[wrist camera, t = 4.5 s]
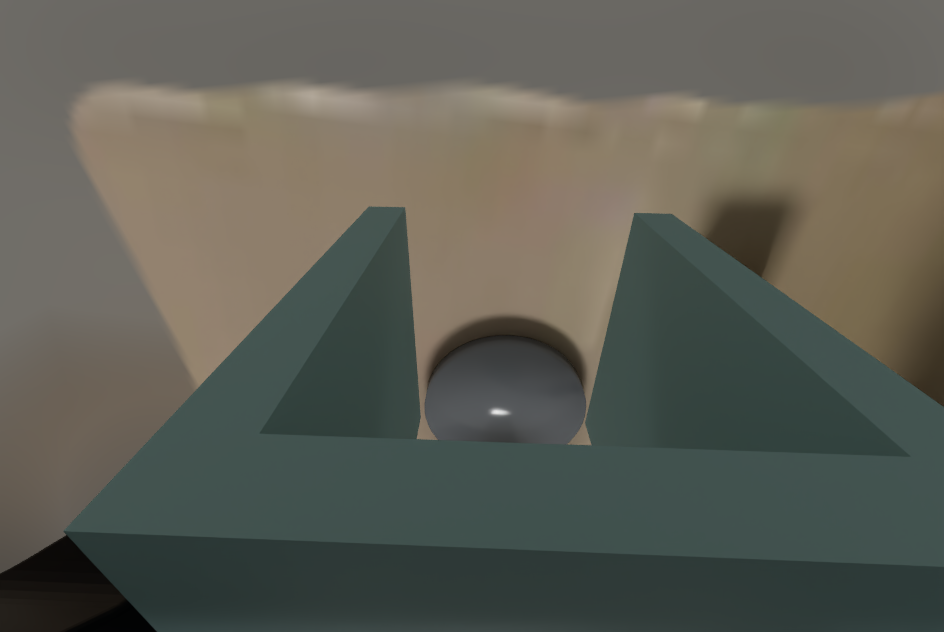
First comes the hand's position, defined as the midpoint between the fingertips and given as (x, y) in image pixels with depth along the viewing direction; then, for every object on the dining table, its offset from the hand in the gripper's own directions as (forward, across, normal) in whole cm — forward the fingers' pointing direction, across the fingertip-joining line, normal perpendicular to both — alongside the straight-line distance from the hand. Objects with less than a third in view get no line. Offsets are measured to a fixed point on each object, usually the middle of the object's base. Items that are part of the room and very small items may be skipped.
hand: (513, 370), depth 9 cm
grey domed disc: (+12, -1, +12) cm, 17 cm away
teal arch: (+2, 0, 0) cm, 2 cm away
